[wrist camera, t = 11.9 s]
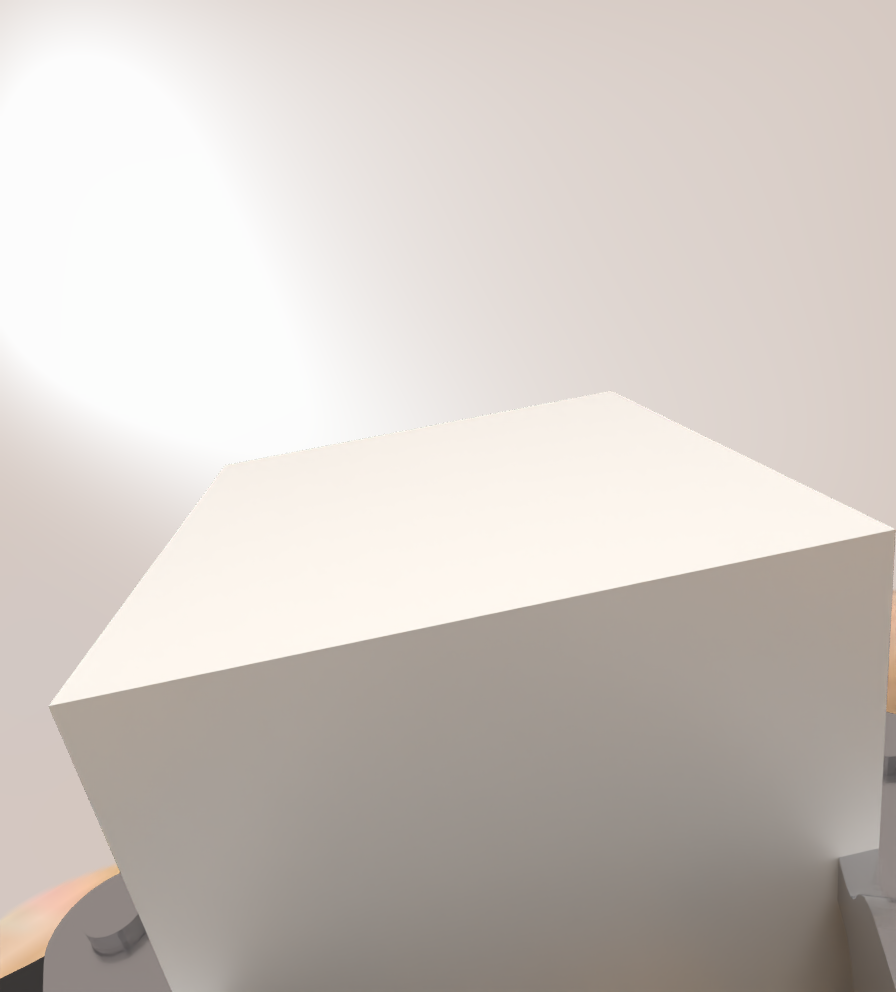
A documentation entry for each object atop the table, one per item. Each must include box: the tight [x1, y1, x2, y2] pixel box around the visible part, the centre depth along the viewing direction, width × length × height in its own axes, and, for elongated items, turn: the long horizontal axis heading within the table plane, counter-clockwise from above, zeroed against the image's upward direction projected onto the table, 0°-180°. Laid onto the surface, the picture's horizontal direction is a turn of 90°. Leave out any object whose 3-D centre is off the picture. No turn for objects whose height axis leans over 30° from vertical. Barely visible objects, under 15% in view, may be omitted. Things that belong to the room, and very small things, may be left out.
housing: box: [49, 391, 896, 992], centre depth 9 cm, size 6×6×10 cm
